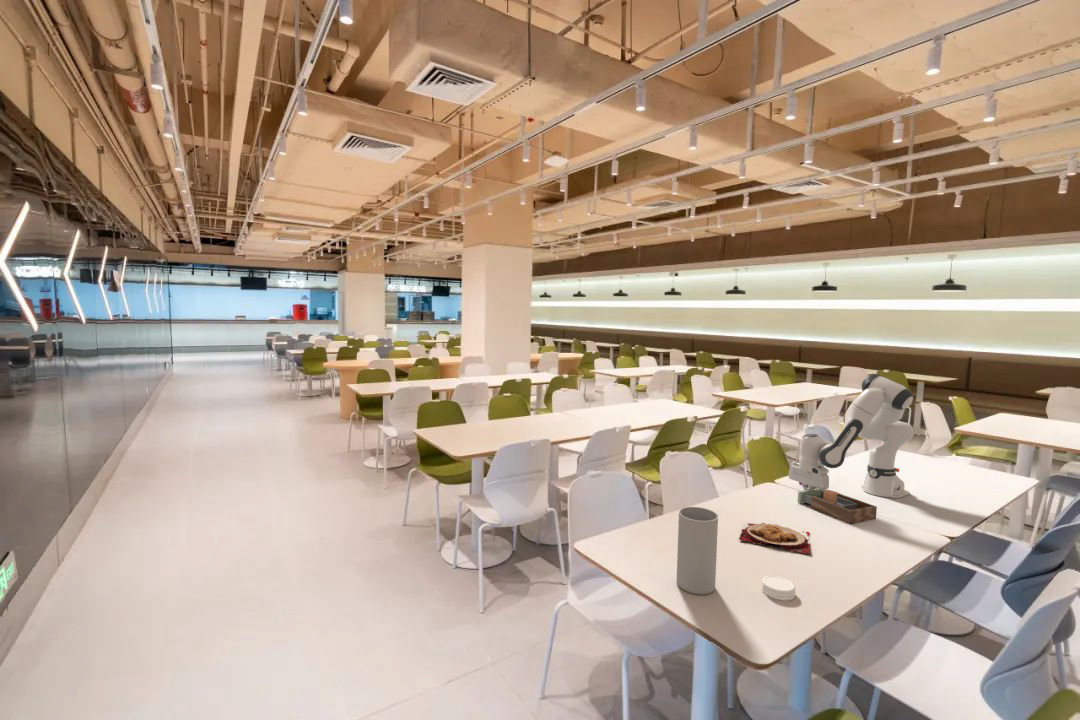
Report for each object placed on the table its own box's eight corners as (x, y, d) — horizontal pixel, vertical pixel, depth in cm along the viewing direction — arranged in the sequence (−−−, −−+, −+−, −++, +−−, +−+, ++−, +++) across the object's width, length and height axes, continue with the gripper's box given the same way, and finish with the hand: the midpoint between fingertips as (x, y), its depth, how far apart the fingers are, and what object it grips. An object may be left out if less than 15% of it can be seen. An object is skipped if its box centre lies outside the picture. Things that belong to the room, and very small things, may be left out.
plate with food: (810, 558, 190) (810, 549, 190) (738, 541, 202) (739, 533, 202) (809, 535, 211) (810, 527, 211) (744, 522, 223) (745, 514, 223)
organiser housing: (835, 504, 245) (836, 492, 244) (875, 519, 226) (876, 506, 226) (810, 508, 239) (811, 496, 238) (850, 524, 220) (850, 511, 220)
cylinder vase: (721, 585, 168) (724, 513, 166) (705, 600, 159) (708, 524, 157) (686, 572, 176) (688, 504, 174) (669, 586, 167) (672, 514, 165)
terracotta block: (836, 504, 239) (837, 492, 238) (833, 506, 235) (834, 494, 235) (826, 501, 242) (826, 489, 241) (823, 503, 239) (823, 491, 238)
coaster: (785, 585, 169) (785, 575, 169) (801, 601, 159) (801, 591, 159) (756, 585, 169) (756, 575, 169) (770, 601, 159) (770, 591, 159)
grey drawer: (822, 498, 252) (822, 487, 251) (859, 512, 234) (860, 500, 233) (797, 502, 246) (798, 491, 245) (834, 517, 227) (834, 505, 227)
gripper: (786, 461, 257) (784, 487, 258) (823, 472, 239) (821, 500, 240) (794, 460, 260) (793, 485, 261) (831, 470, 242) (830, 498, 243)
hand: (807, 492), depth 250 cm, fingers closed
